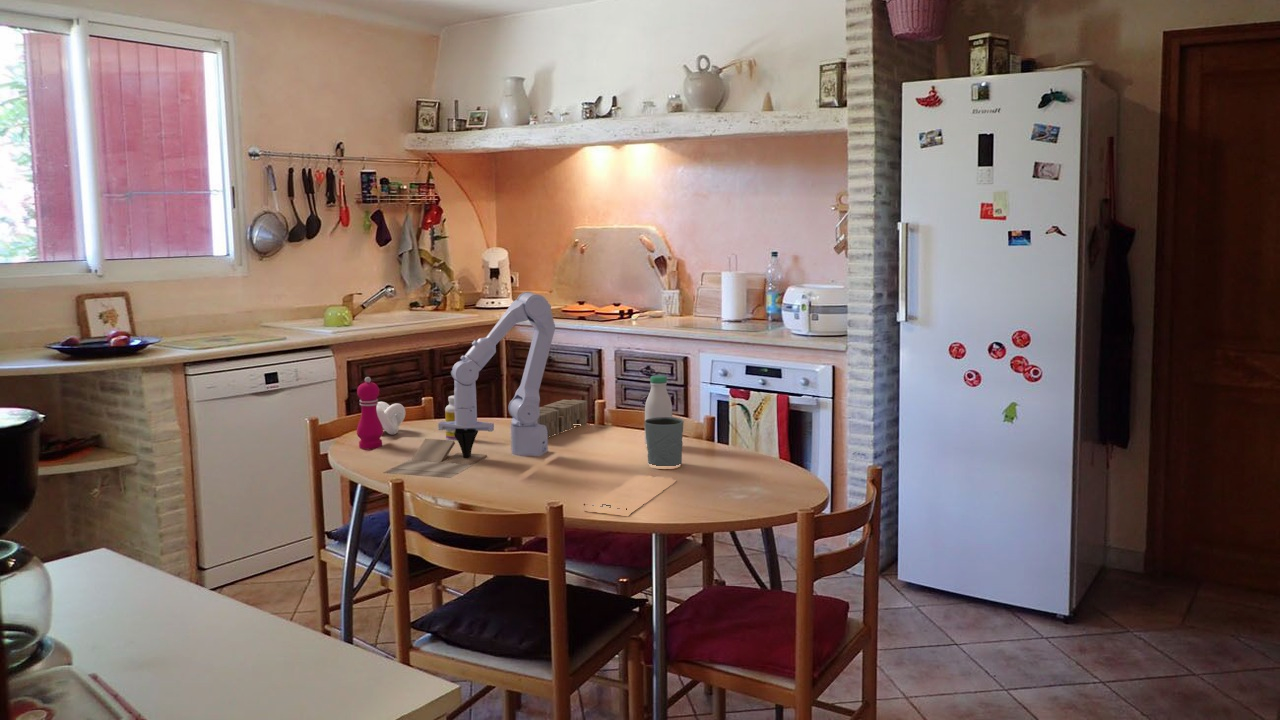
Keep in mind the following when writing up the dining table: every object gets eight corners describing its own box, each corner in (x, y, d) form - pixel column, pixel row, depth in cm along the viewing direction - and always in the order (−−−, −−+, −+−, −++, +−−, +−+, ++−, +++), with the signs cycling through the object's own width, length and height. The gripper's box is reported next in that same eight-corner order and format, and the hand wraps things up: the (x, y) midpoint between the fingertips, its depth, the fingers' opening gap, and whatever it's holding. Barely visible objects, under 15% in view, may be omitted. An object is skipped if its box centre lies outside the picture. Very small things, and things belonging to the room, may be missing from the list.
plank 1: (454, 443, 276) (454, 440, 275) (441, 465, 269) (440, 462, 268) (426, 441, 278) (425, 438, 278) (412, 462, 271) (411, 460, 271)
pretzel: (355, 436, 304) (354, 406, 302) (377, 427, 315) (376, 398, 314) (389, 438, 300) (388, 408, 299) (410, 429, 312) (409, 400, 310)
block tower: (566, 425, 322) (512, 441, 297) (566, 398, 321) (511, 412, 296) (587, 427, 319) (534, 443, 293) (587, 400, 318) (534, 414, 292)
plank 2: (486, 458, 274) (486, 454, 274) (472, 468, 266) (471, 464, 266) (457, 456, 277) (457, 452, 276) (442, 466, 268) (442, 462, 268)
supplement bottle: (457, 444, 293) (455, 399, 291) (441, 440, 297) (439, 397, 295) (474, 439, 298) (473, 396, 296) (458, 436, 302) (457, 393, 300)
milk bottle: (672, 449, 285) (672, 378, 282) (644, 449, 285) (644, 378, 282) (672, 443, 292) (672, 374, 289) (645, 443, 293) (644, 374, 290)
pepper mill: (387, 444, 293) (384, 374, 290) (378, 450, 286) (375, 379, 283) (362, 443, 294) (359, 374, 291) (353, 449, 287) (350, 378, 284)
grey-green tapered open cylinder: (680, 471, 262) (680, 425, 260) (641, 469, 264) (640, 423, 262) (686, 461, 272) (686, 417, 270) (648, 460, 274) (648, 415, 272)
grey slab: (473, 468, 265) (473, 464, 265) (450, 481, 253) (450, 477, 253) (409, 463, 271) (408, 460, 270) (383, 476, 258) (383, 472, 258)
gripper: (496, 404, 273) (497, 454, 276) (443, 403, 275) (445, 452, 277) (489, 409, 267) (490, 460, 269) (435, 408, 268) (436, 459, 270)
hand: (467, 457), depth 273 cm, fingers closed, pressing on plank 2
